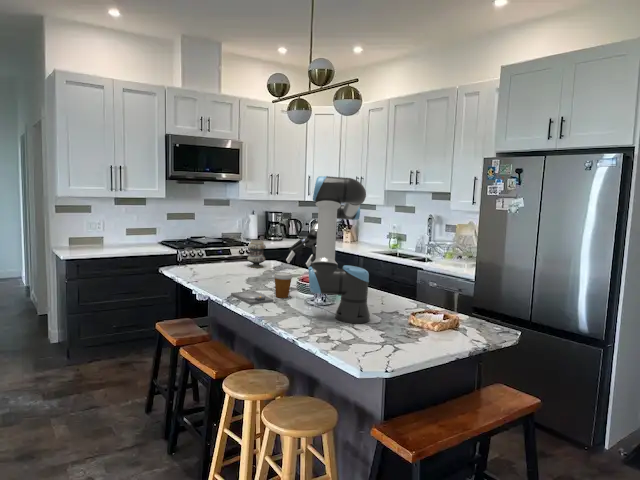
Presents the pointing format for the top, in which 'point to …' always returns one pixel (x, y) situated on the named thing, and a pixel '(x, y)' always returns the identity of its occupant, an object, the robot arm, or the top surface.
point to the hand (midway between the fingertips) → (297, 263)
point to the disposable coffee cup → (282, 284)
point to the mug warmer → (252, 297)
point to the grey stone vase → (256, 253)
